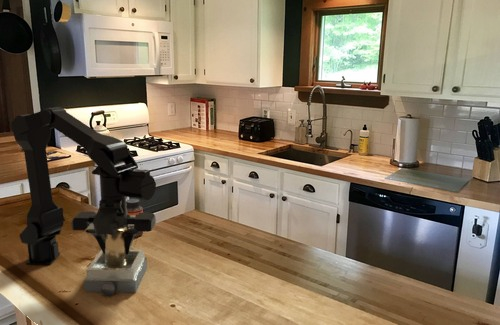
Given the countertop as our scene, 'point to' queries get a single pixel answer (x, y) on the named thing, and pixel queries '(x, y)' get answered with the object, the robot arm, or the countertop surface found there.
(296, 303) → the countertop surface
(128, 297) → the countertop surface
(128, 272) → the grey open box
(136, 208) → the supplement bottle
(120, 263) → the spout can
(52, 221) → the robot arm
